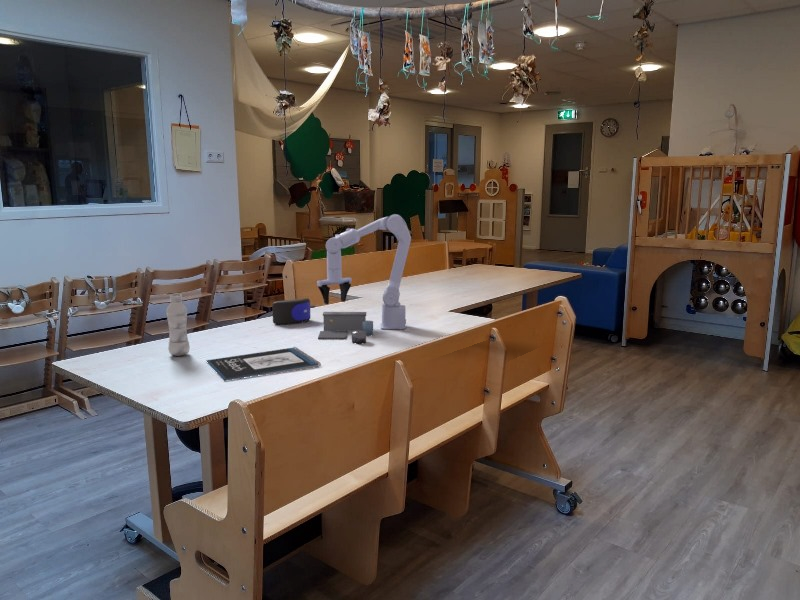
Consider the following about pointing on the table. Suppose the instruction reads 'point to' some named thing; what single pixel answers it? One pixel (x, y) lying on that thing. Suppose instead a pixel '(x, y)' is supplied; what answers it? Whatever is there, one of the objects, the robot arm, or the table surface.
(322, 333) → the mat
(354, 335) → the cap
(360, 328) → the block
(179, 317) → the plastic bottle
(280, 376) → the table surface
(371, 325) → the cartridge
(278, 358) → the sketchbook
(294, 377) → the table surface
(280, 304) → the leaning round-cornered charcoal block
